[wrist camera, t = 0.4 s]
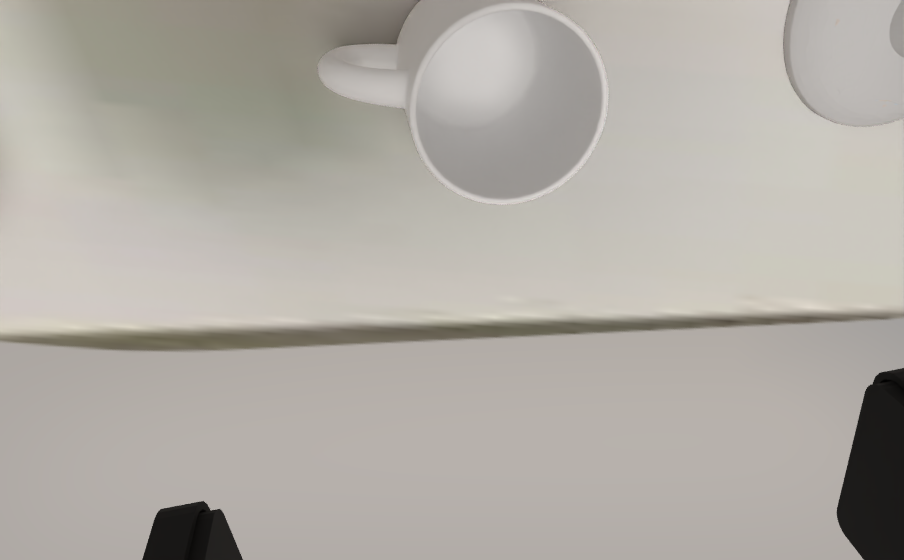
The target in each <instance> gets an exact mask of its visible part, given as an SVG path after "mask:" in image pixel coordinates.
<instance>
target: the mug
mask: <svg viewBox="0 0 904 560" xmlns="http://www.w3.org/2000/svg"><path fill="white" fill-rule="evenodd" d="M317 69H318V75H319V78H320V79H321V81H322V82H323V84H324V85H325V86H326V87H327V88H329V89H330V90H332V91H333V92H335V93H337V94H339V95H341V96H344V97H346V98H349V99H353V100H356V101H360V102H365V103H370V104H375V105H381V106H388V107H395V108H403V109H404V110H405V114H406V116H407V119H408V123H409V127H410V130H411V133H412V137H413V141H414V144H415V146H416V149H417V152H418V154H419V155H420V157H421V159H422V161H423V163H424V164H425V166H426V167H427V168H428V170H429V171H430V172H431V174H432V175H433V176H434V177H435V178H436V179H437V180H438V181H439V182H440V183H442V184H443V185H444V186H446V187H447V188H448V189H450V190H451V191H453V192H455V193H457V194H458V195H460V196H463V197H465V198H467V199H470V200H473V201H477V202H481V203H486V204H494V205H509V204H517V203H522V202H526V201H531V200H533V199H536V198H539V197H541V196H544V195H546V194H548V193H550V192H552V191H554V190H555V189H557V188H558V187H560V186H561V185H563V184H564V183H565V182H566V181H568V180H569V179H570V178H571V177H572V176H574V175H575V174H576V173H577V171H578V170H579V169H580V168H581V167H582V166H583V165H584V164H585V162H586V161H587V160H588V158H589V157H590V156H591V154H592V152H593V150H594V149H595V147H596V145H597V143H598V141H599V139H600V136H601V134H602V131H603V128H604V125H605V122H606V117H607V111H608V101H609V89H608V79H607V74H606V70H605V66H604V63H603V61H602V58H601V55H600V53H599V52H598V50H597V48H596V46H595V44H594V43H593V41H592V40H591V39H590V37H589V36H588V34H587V33H586V32H585V31H584V30H583V29H582V28H581V27H580V26H579V25H578V24H577V23H575V22H574V21H573V20H571V19H570V18H569V17H567V16H566V15H564V14H562V13H560V12H558V11H556V10H555V9H553V8H551V7H549V6H547V5H545V4H543V3H542V2H540V1H538V0H420V1H419V2H418V3H417V4H416V5H415V7H414V8H413V9H412V11H411V12H410V13H409V15H408V17H407V18H406V20H405V22H404V24H403V26H402V29H401V31H400V34H399V37H398V40H397V44H396V45H395V44H356V45H347V46H341V47H338V48H334V49H332V50H330V51H328V52H327V53H325V54H324V55H323V56H322V57H321V59H320V61H319V62H318V67H317Z"/></svg>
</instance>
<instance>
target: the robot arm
mask: <svg viewBox="0 0 904 560" xmlns="http://www.w3.org/2000/svg"><path fill="white" fill-rule="evenodd" d="M837 518H838V522H839V525H840V527H841V529H842V531H843V533H844V534H845V536H846V537H847V538H848V540H849V541H850V542H851V544H852V545H853V546H854V547H855V549H856V550H857V551H858V553H859V554H860V555H861V556H862V558H863V559H864V560H904V368H902V369H897V370H892V371H887V372H882V373H879V374H878V375H877V376H876V377H875V379H874V382H873V385H870V386H868V387H867V389H866V391H865V394H864V399H863V403H862V407H861V412H860V415H859V420H858V424H857V428H856V432H855V436H854V440H853V445H852V449H851V453H850V457H849V461H848V466H847V470H846V474H845V478H844V482H843V487H842V490H841V495H840V499H839V503H838V507H837ZM142 560H243V559H242V556H241V554H240V552H239V550H238V547H237V545H236V542H235V540H234V538H233V535H232V533H231V530H230V528H229V526H228V523H227V521H226V518H225V516H224V514H223V512H222V511H221V510H220V509H217V510H212V511H210V509H209V507H208V505H207V504H206V503H205V502H204V501H202V502H196V503H191V504H185V505H181V506H175V507H170V508H164V509H161V510H160V511H159V512H158V513H157V515H156V517H155V520H154V523H153V526H152V529H151V533H150V536H149V539H148V543H147V546H146V549H145V553H144V556H143V559H142Z"/></svg>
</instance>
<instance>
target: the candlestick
mask: <svg viewBox="0 0 904 560" xmlns="http://www.w3.org/2000/svg"><path fill="white" fill-rule="evenodd" d="M784 59H785V65H786V69H787V73H788V76H789V79H790V82H791V84H792V86H793V88H794V90H795V92H796V93H797V95H798V96H799V98H800V99H801V100H802V101H803V102H804V104H805V105H806V106H808V107H809V108H810V109H811V110H812V111H814V112H815V113H817V114H818V115H820V116H822V117H824V118H826V119H828V120H830V121H833V122H835V123H838V124H842V125H847V126H855V127H871V126H878V125H883V124H888V123H891V122H894V121H897V120H900V119H903V118H904V0H791V2H790V6H789V9H788V13H787V18H786V23H785V30H784Z"/></svg>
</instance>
